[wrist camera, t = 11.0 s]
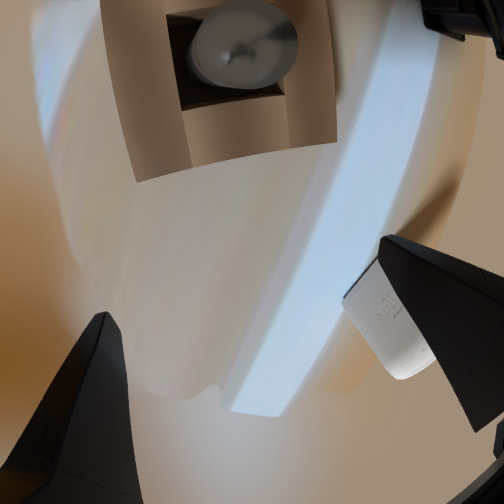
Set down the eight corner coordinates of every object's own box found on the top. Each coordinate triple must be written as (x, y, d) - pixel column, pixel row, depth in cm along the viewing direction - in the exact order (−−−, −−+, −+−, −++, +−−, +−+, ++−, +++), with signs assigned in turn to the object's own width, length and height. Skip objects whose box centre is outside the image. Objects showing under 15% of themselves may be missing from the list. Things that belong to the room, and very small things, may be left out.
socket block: (292, -21, 12) (319, -37, 9) (309, 129, 19) (337, 142, 16) (111, 1, 11) (98, -17, 7) (142, 163, 18) (136, 182, 14)
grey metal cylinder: (243, 27, 14) (292, -2, 8) (250, 81, 16) (302, 84, 10) (181, 35, 14) (190, 3, 7) (190, 91, 16) (204, 96, 10)
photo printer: (393, 233, 28) (472, 309, 18) (409, 247, 30) (479, 317, 20) (333, 303, 31) (390, 391, 21) (354, 311, 33) (407, 389, 24)
